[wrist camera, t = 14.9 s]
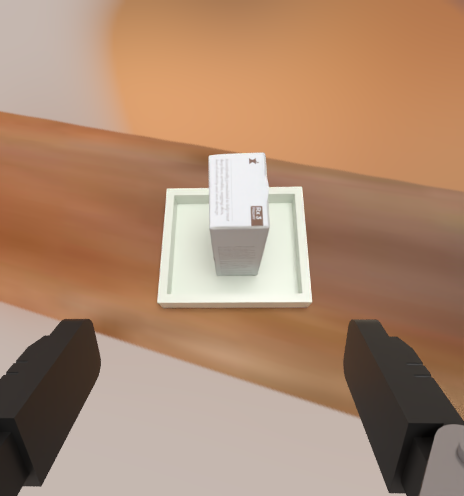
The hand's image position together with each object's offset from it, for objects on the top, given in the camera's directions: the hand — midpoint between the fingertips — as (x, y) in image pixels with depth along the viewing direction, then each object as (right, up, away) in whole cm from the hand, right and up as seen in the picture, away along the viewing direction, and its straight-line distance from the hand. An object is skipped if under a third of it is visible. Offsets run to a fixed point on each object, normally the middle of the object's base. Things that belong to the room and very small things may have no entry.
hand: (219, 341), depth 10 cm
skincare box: (+1, +3, +24) cm, 24 cm away
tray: (+1, +3, +24) cm, 24 cm away
